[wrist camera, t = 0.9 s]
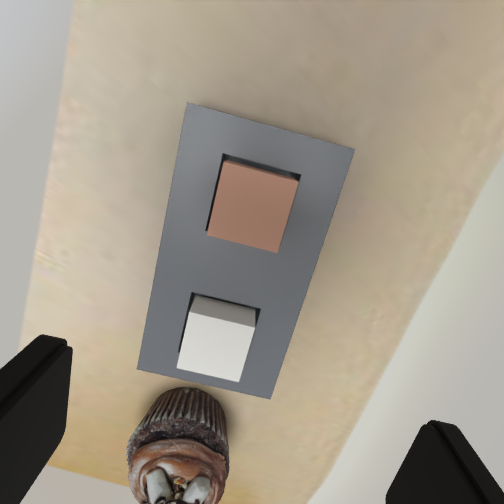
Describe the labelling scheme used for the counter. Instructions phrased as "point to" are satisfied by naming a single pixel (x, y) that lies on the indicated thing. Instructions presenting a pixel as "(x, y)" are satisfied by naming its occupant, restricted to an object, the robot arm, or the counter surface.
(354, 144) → the counter surface
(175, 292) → the key panel
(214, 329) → the off-white key
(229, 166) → the terracotta key
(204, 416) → the cupcake
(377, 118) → the counter surface
